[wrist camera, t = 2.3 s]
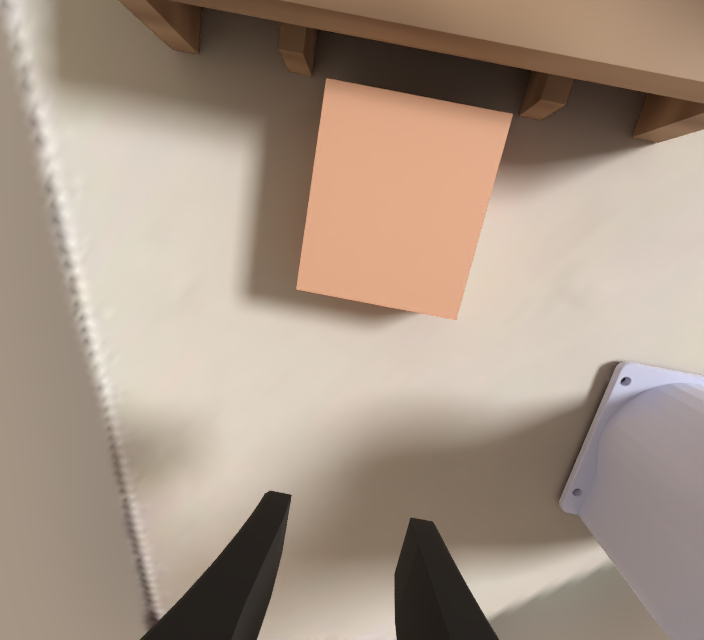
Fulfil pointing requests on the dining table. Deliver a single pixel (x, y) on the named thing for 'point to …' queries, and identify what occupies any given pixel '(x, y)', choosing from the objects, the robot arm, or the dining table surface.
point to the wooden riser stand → (500, 43)
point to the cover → (398, 197)
